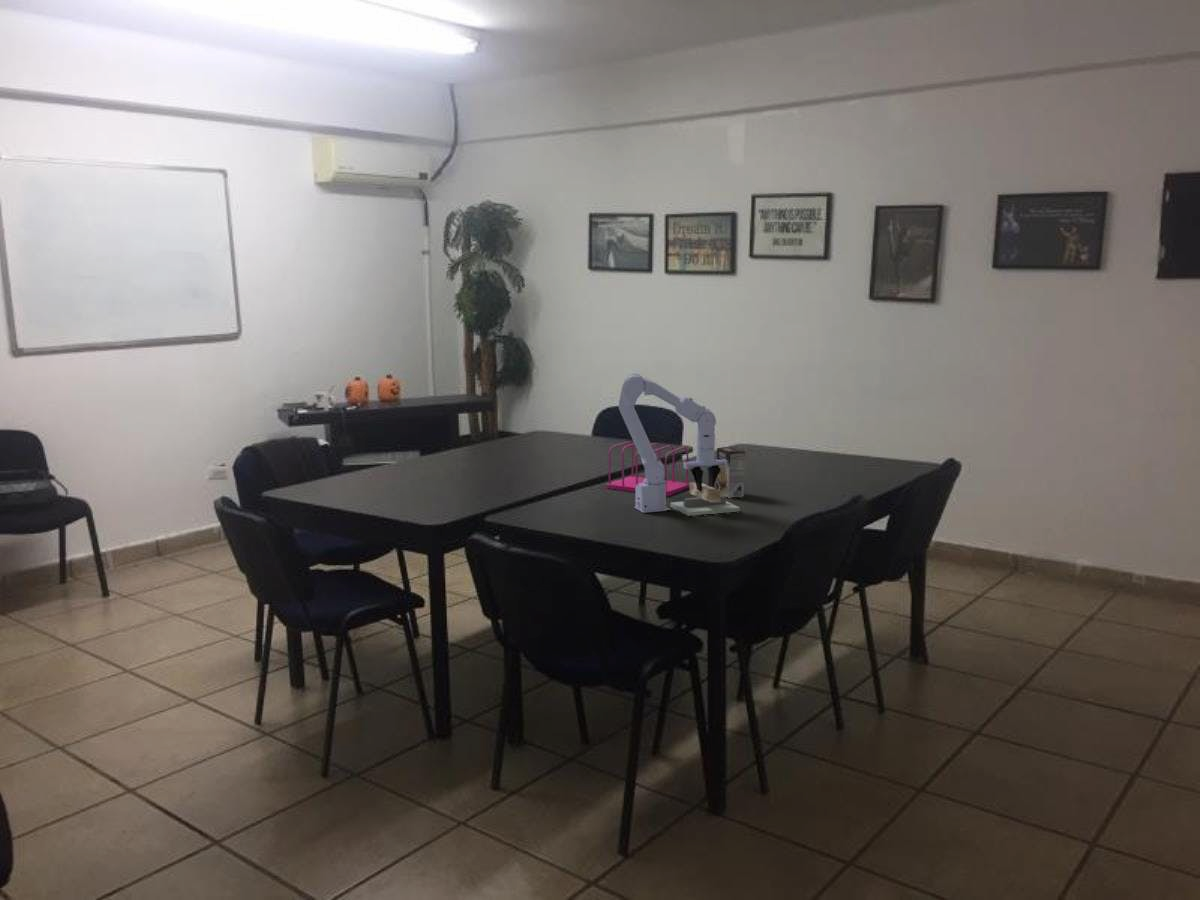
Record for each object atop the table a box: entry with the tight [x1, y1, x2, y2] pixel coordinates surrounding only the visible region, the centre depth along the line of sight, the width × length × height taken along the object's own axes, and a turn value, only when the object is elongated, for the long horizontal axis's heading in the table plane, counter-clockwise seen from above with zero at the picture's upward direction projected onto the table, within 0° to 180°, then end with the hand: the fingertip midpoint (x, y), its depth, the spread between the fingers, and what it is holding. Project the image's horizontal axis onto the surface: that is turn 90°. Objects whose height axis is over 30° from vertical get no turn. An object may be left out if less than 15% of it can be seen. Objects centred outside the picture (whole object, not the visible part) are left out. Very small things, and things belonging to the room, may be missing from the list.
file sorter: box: [605, 441, 691, 497], centre depth 341 cm, size 17×25×16 cm
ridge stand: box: [669, 495, 741, 516], centre depth 310 cm, size 18×14×4 cm
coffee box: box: [715, 446, 746, 499], centre depth 329 cm, size 9×6×16 cm
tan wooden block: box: [689, 481, 721, 502], centre depth 309 cm, size 16×4×4 cm, turn 19°
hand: (705, 489), depth 309 cm, fingers closed on tan wooden block, 3 cm apart
